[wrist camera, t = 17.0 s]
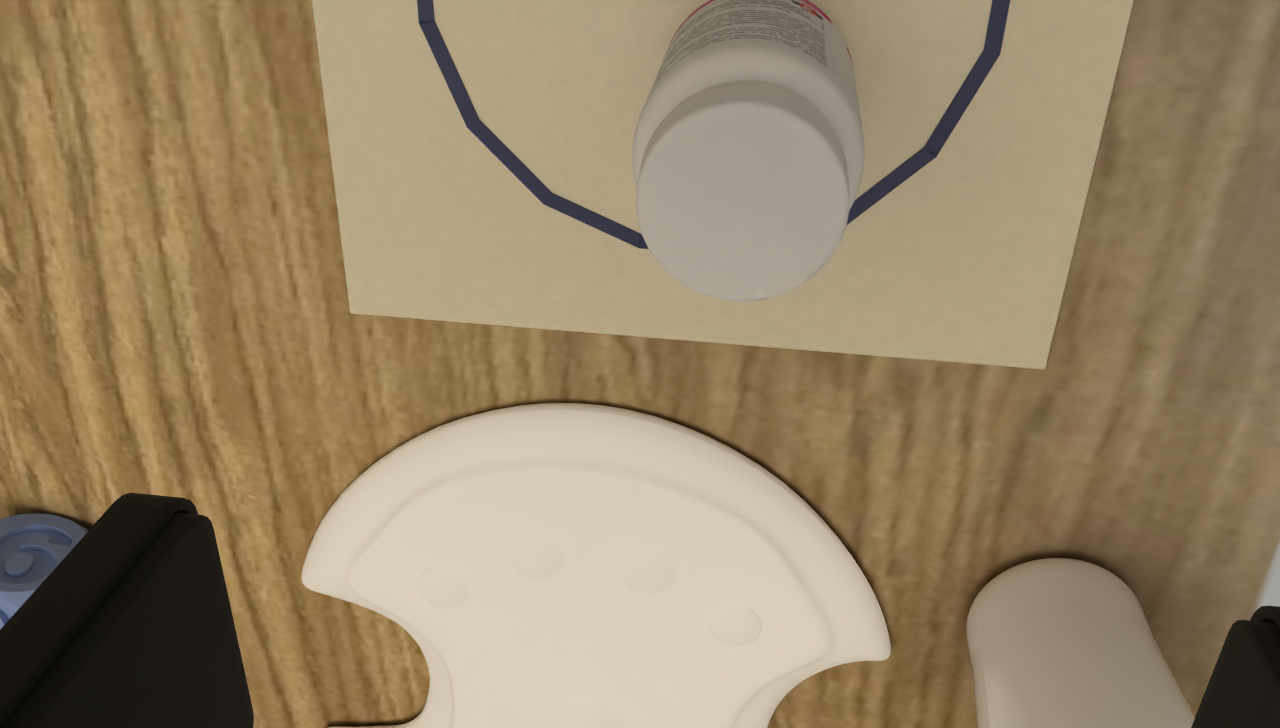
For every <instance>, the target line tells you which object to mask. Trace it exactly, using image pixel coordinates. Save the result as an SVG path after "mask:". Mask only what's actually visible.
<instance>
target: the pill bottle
mask: <svg viewBox="0 0 1280 728" xmlns="http://www.w3.org/2000/svg"><path fill="white" fill-rule="evenodd" d="M864 157H865V147H864V135H863V129H862V122H861V116H860V110H859V103H858V98H857V91H856V84H855V76H854V69H853V63H852V60H851V56H850V53H849V50H848V48H847V45H846V43H845V41H844V39H843V37H842V35H841V33H840V31H839V30H838V28H837V27H836V25H835V24H834V22H833V21H832V20H831V19H830V18H829V16H828V15H827V14H826V13H825V12H824V11H823V10H821V9H820V8H819V7H818V6H816V5H815V4H813V3H812V2H811V1H809V0H709V1H707V2H706V3H704V4H703V5H701V6H700V7H698V8H697V9H696V10H695V11H694V12H693V13H691V14H690V15H689V16H688V18H687V19H686V20H685V21H684V22H683V23H682V25H681V26H680V27H679V28H678V30H677V31H676V33H675V34H674V36H673V38H672V40H671V42H670V44H669V46H668V48H667V51H666V53H665V56H664V58H663V61H662V64H661V66H660V69H659V72H658V74H657V76H656V79H655V81H654V84H653V86H652V88H651V91H650V93H649V95H648V98H647V100H646V103H645V105H644V107H643V109H642V112H641V115H640V117H639V120H638V123H637V127H636V131H635V134H634V141H633V152H632V162H633V174H634V180H635V184H636V188H637V189H636V212H637V219H638V223H639V227H640V230H641V233H642V236H643V238H644V240H645V242H646V244H647V246H648V248H649V250H650V252H651V253H652V254H653V256H654V258H655V259H656V261H657V262H659V264H660V265H661V266H662V268H664V269H665V270H666V271H667V272H668V273H669V274H670V275H671V276H672V277H673V278H674V279H676V280H677V281H679V282H680V283H682V284H683V285H685V286H686V287H688V288H690V289H692V290H694V291H696V292H699V293H701V294H704V295H707V296H710V297H713V298H717V299H722V300H728V301H759V300H764V299H769V298H773V297H776V296H779V295H782V294H784V293H787V292H789V291H791V290H793V289H795V288H797V287H799V286H801V285H802V284H804V283H805V282H807V281H808V280H809V279H811V278H812V277H813V276H814V275H816V274H817V273H818V272H819V271H820V270H821V269H822V268H823V267H824V266H825V264H826V263H827V262H828V261H829V260H830V258H831V257H832V255H833V254H834V252H835V251H836V249H837V247H838V245H839V243H840V241H841V239H842V237H843V234H844V232H845V229H846V224H847V220H848V215H849V211H850V209H851V207H852V205H853V203H854V201H855V198H856V196H857V193H858V190H859V187H860V184H861V180H862V175H863V169H864Z"/></svg>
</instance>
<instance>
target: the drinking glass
mask: <svg viewBox="0 0 1280 728" xmlns="http://www.w3.org/2000/svg"><path fill="white" fill-rule="evenodd" d="M966 639H967V646H968V651H969V657H970V662H971V668H972V673H973V684H974V696H975V708H976V721H977V728H1191V727H1192V724H1193V722H1194V719H1195V716H1194V714H1193V712H1192V710H1191V709H1190V707H1189V705H1188V703H1187V701H1186V699H1185V697H1184V695H1183V693H1182V691H1181V690H1180V688H1179V686H1178V684H1177V682H1176V680H1175V678H1174V676H1173V674H1172V672H1171V671H1170V669H1169V667H1168V665H1167V663H1166V661H1165V659H1164V657H1163V655H1162V653H1161V651H1160V649H1159V647H1158V645H1157V643H1156V641H1155V639H1154V637H1153V634H1152V631H1151V629H1150V626H1149V624H1148V621H1147V619H1146V616H1145V614H1144V611H1143V609H1142V607H1141V605H1140V603H1139V601H1138V599H1137V597H1136V596H1135V595H1134V593H1133V592H1132V590H1131V589H1130V588H1129V587H1128V586H1127V585H1126V584H1125V583H1124V582H1123V581H1122V580H1121V579H1120V578H1118V577H1117V576H1116V575H1114V574H1113V573H1111V572H1110V571H1108V570H1106V569H1104V568H1102V567H1100V566H1097V565H1095V564H1092V563H1089V562H1085V561H1082V560H1076V559H1068V558H1046V559H1038V560H1033V561H1029V562H1025V563H1022V564H1019V565H1016V566H1014V567H1012V568H1010V569H1007V570H1006V571H1004V572H1002V573H1000V574H999V575H997V576H996V577H994V578H993V579H992V580H991V581H989V582H988V583H987V584H986V585H985V586H984V587H983V588H982V590H981V591H980V592H979V593H978V595H977V596H976V597H975V599H974V601H973V603H972V605H971V607H970V610H969V613H968V617H967V622H966Z"/></svg>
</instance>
